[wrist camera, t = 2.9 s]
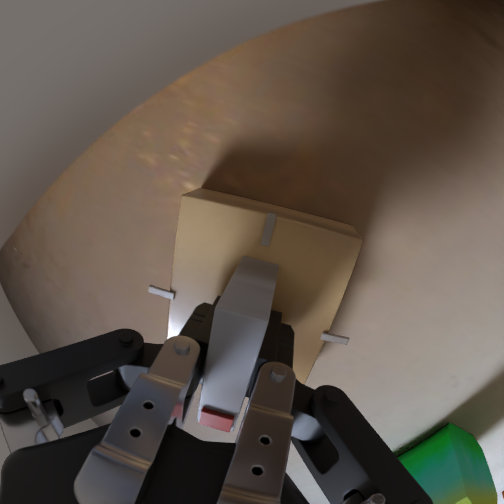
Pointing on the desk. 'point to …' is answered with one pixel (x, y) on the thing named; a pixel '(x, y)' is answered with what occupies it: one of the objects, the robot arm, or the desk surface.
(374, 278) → the desk surface
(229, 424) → the upright gray plate
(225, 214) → the block
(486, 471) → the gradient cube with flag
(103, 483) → the robot arm
